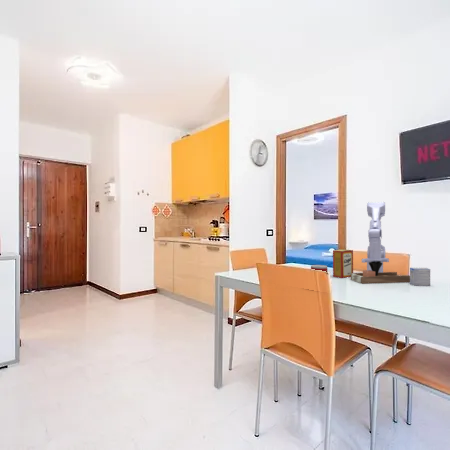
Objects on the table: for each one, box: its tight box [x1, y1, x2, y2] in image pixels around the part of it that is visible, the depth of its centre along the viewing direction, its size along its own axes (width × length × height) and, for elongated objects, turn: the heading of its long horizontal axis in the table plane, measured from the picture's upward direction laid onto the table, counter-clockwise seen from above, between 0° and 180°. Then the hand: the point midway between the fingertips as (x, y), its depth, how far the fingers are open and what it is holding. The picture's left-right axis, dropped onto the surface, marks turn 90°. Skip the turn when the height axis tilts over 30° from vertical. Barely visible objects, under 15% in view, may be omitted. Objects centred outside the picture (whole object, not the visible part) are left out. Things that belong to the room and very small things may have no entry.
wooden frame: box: [350, 271, 410, 285], centre depth 168 cm, size 12×27×4 cm, turn 95°
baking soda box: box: [332, 249, 354, 279], centre depth 182 cm, size 10×6×16 cm
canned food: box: [310, 264, 328, 273], centre depth 152 cm, size 8×8×11 cm
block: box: [362, 269, 375, 277], centre depth 168 cm, size 4×4×4 cm
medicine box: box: [409, 267, 431, 287], centre depth 156 cm, size 8×4×9 cm, turn 84°
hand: (375, 275), depth 168 cm, fingers closed
